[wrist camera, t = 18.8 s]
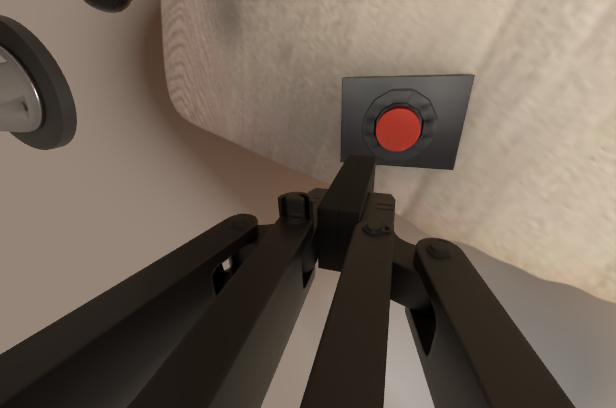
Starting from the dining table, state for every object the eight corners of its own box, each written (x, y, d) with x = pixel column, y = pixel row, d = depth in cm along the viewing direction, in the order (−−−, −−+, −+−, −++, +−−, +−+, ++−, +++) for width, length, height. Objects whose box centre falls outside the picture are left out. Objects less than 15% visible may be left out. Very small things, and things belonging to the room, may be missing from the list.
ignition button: (375, 146, 28) (374, 150, 27) (379, 105, 26) (377, 108, 25) (416, 148, 27) (417, 153, 25) (422, 106, 25) (423, 108, 24)
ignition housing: (344, 156, 33) (337, 167, 30) (346, 77, 29) (338, 78, 26) (450, 163, 30) (455, 176, 27) (470, 73, 26) (479, 75, 22)
